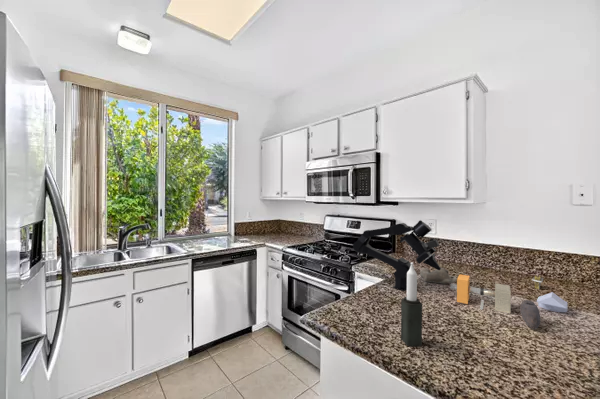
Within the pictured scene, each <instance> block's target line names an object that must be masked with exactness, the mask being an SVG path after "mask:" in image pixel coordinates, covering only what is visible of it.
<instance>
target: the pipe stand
mask: <svg viewBox="0 0 600 399" xmlns="http://www.w3.org/2000/svg"><path fill="white" fill-rule="evenodd" d="M449 287H450V288H449V289H450V290H454V291H457V283H456V284H455V283H450V285H449ZM468 292H469V294H474V295H481V296H486V297H491V298H494V312H500V313H505V314H511V304H512V303H511V302H512V301H511V299H512V296H511V294H512V292H511V286H510V285H508V284H501V283H496V282H495V283H494V290H491V289H485V288H478V287H473V286H470V287H468ZM484 303H485V300H484V299H480V306H479V309H480V310H483V309H484Z"/></svg>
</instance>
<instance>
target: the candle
mask: <svg viewBox="0 0 600 399" xmlns="http://www.w3.org/2000/svg"><path fill="white" fill-rule="evenodd" d="M410 263H411V266H410V269H409V271H408V272H407V290H406V296H404V297H403V298H401V300H400V301H401V302H400V304H401V307H400V308H401V311H400V312H401V314H400V315H401V316H400V340H401V341H402V342H403V343H404V344H405V345H406V346H407V347H422V345H423V343H422V342H423V302H421V301H420V299H419V298H417V297H418V292H417V291H418V289H417V288H418V274H417V271H416V270H415V267H414V262H410Z"/></svg>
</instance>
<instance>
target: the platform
mask: <svg viewBox="0 0 600 399" xmlns="http://www.w3.org/2000/svg"><path fill="white" fill-rule="evenodd" d="M531 281H533V282H534V287H535V288H536V289H538V290H540V289H541V287H540V286H541V284H542V283H543V281H544V277H541V275H539V276H537V275H536V274H535V276H533V277H532V278H531Z"/></svg>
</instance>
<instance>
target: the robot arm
mask: <svg viewBox="0 0 600 399" xmlns="http://www.w3.org/2000/svg"><path fill="white" fill-rule="evenodd" d="M409 232H411V233H409ZM430 232H432V228H431V227H430V225H428V224H426V222H424V221H422V220H421V219H420V220H418V221H417V223H416V224H414V225H413V226H412V225H411V226H410V225H407V224H406V222H405V223H404V222H400V223H397V224H394V225H391V226H388V227H383V228H381V227H380V228H376V229H375V228H374V229H367V230H364V231H363V232H362V234H361V235H360V236H359V237H358V239H357V240H356V241H354V242H353V244H352V249H353V251H355V252H357V253H360V254H364V255H365V254H366V255H368V256H370V257H372V258H374V259H377V261H378V260H379V261H380V262H382V263H385V264H387V265H388V266H391V267H392V268H393V269H394V270H395V271H394V272H393V277H394V285H393V286H392V288H393V289H396V290H399V291H403V292H404V291H407V272H408V271H409V269H410V266H411V262H410V260H407V259H406V258H404V257H400V258H395V257H393V256H391V255H389V254H387V253H385V252H383V251H380V250H378V249H376V248H374V247H372V246H371V245H370V244H369V242H370V240H371V238H373V237H378V236H386V235H393V236H394V235H395V236H400V237H399V238H400V243H404V242H406V244H407V245H408V246H409V247H410V248H411V251H412V252H414V253H416V254H417V257H416V259H415V262H417V263H418V265H420V264H421V263H423V264H425V265H427V266H428V267H431V268H433V269H435V270H440V269H441V268H442V267H441V266H440V263H438V261H437V260H436V258H435V257H436V251H437V249H435V248H437V247H439V246H440V243H439V240H437V238H436V239H435V238H433V237H432V238H430V239H429V241H427V242H425V241H423V240H421V239H420V238H424V237H425V236H427V235H428V234H429V233H430ZM402 235H403V236H402Z"/></svg>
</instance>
